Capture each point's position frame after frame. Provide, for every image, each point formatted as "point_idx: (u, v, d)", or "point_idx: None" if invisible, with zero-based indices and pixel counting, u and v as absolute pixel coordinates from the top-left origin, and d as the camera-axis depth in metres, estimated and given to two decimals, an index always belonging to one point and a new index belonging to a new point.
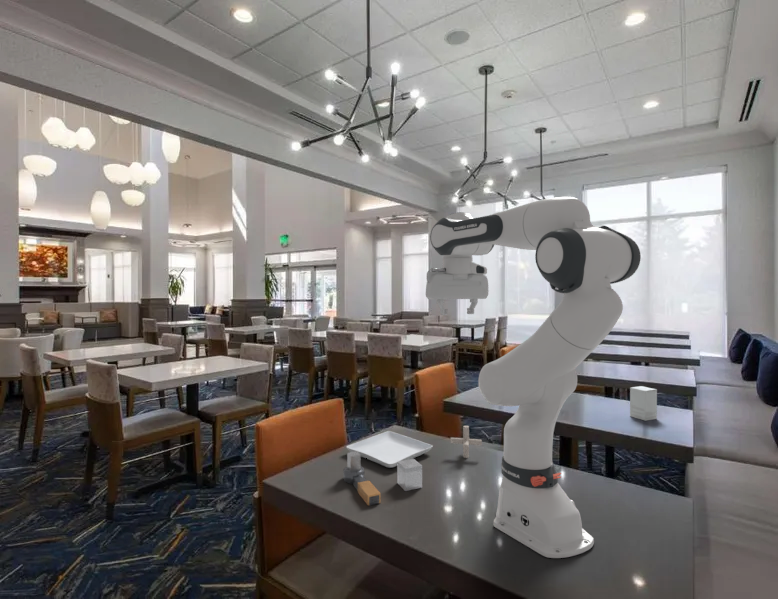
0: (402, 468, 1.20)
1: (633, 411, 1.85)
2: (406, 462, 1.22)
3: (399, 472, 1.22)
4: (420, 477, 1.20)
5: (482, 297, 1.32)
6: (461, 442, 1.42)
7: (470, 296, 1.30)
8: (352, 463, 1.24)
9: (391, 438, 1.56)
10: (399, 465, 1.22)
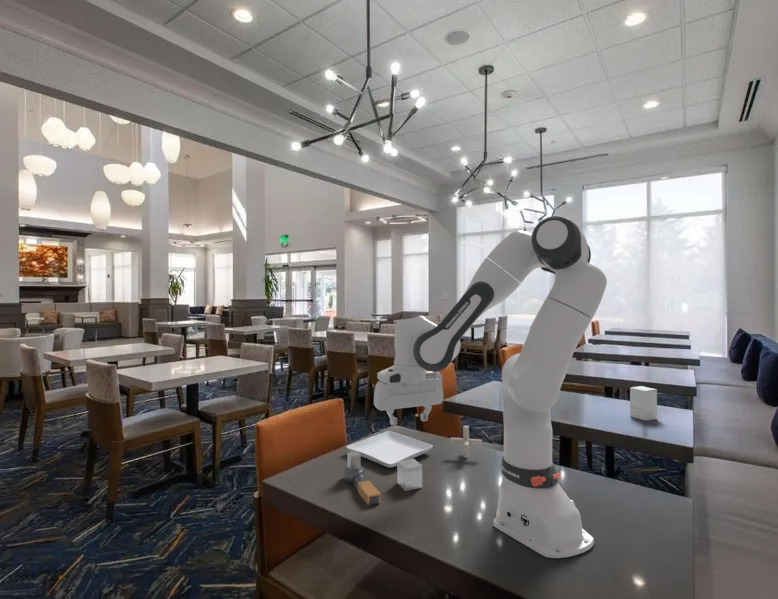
0: (402, 468, 1.20)
1: (633, 411, 1.85)
2: (406, 462, 1.22)
3: (399, 472, 1.22)
4: (420, 477, 1.20)
5: None
6: (461, 442, 1.42)
7: None
8: (352, 463, 1.24)
9: (391, 438, 1.56)
10: (399, 465, 1.22)
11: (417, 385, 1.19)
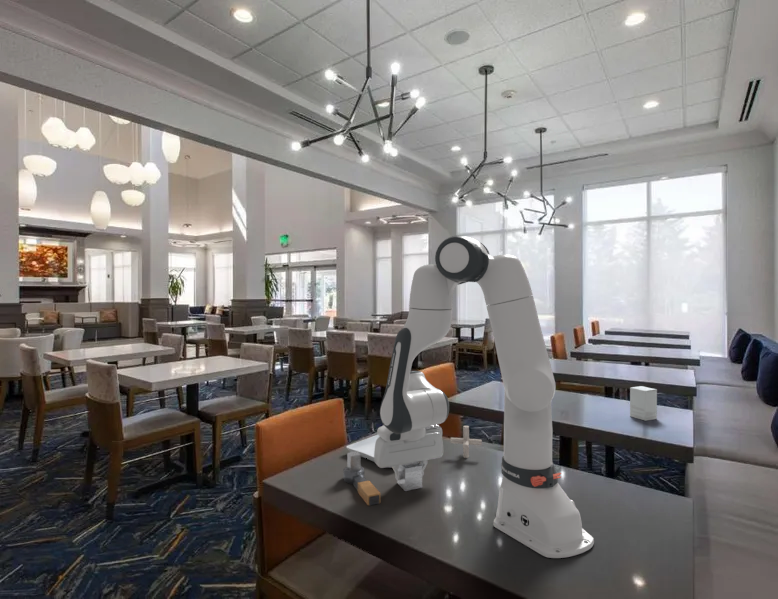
0: (402, 468, 1.20)
1: (633, 411, 1.85)
2: None
3: None
4: (420, 477, 1.20)
5: None
6: (461, 442, 1.42)
7: None
8: (352, 463, 1.24)
9: None
10: (399, 465, 1.22)
11: (417, 441, 1.19)
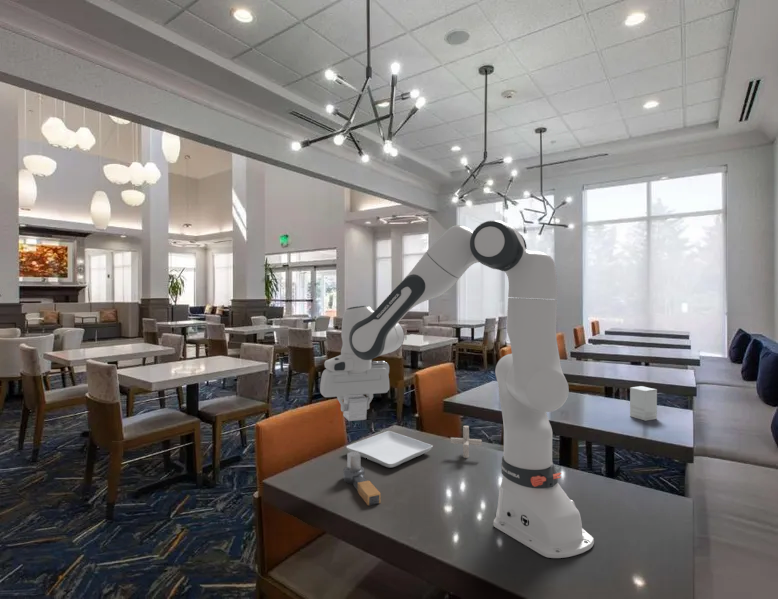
0: (347, 399, 1.24)
1: (633, 411, 1.85)
2: (352, 395, 1.26)
3: None
4: (364, 409, 1.24)
5: None
6: (461, 442, 1.42)
7: None
8: (352, 463, 1.24)
9: (391, 438, 1.56)
10: (345, 397, 1.25)
11: (362, 373, 1.23)
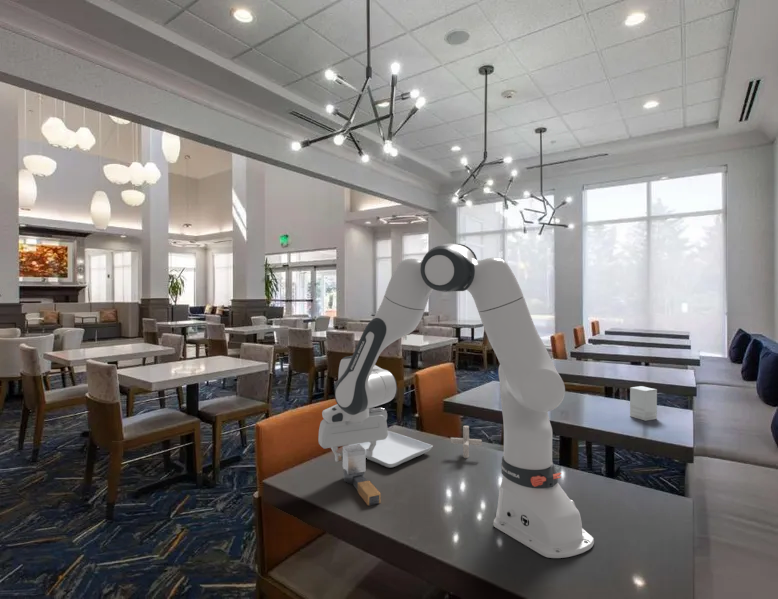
0: (346, 452, 1.24)
1: (633, 411, 1.85)
2: (351, 447, 1.26)
3: (344, 456, 1.26)
4: (363, 461, 1.24)
5: None
6: (461, 442, 1.42)
7: None
8: None
9: (391, 438, 1.56)
10: (344, 450, 1.26)
11: (360, 423, 1.23)
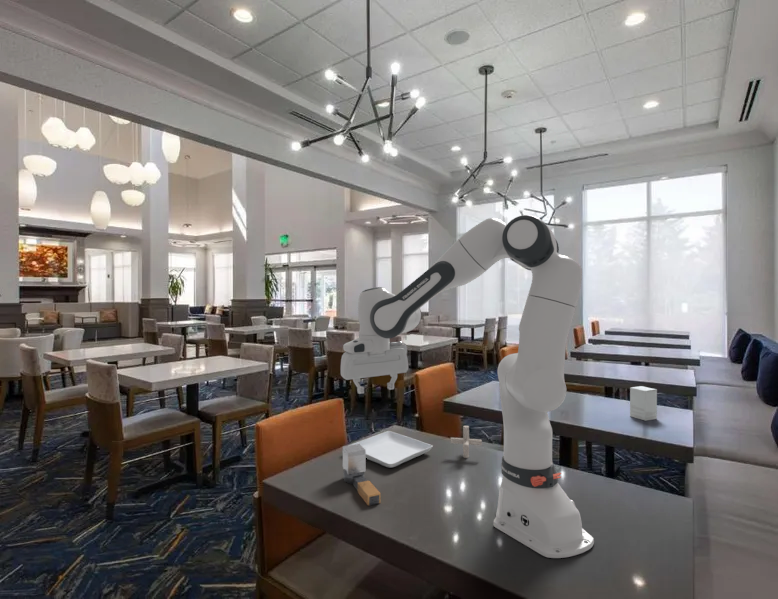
0: (346, 452, 1.24)
1: (633, 411, 1.85)
2: (351, 447, 1.26)
3: (344, 456, 1.26)
4: (363, 461, 1.24)
5: None
6: (461, 442, 1.42)
7: None
8: None
9: (391, 438, 1.56)
10: (344, 450, 1.26)
11: (381, 354, 1.24)
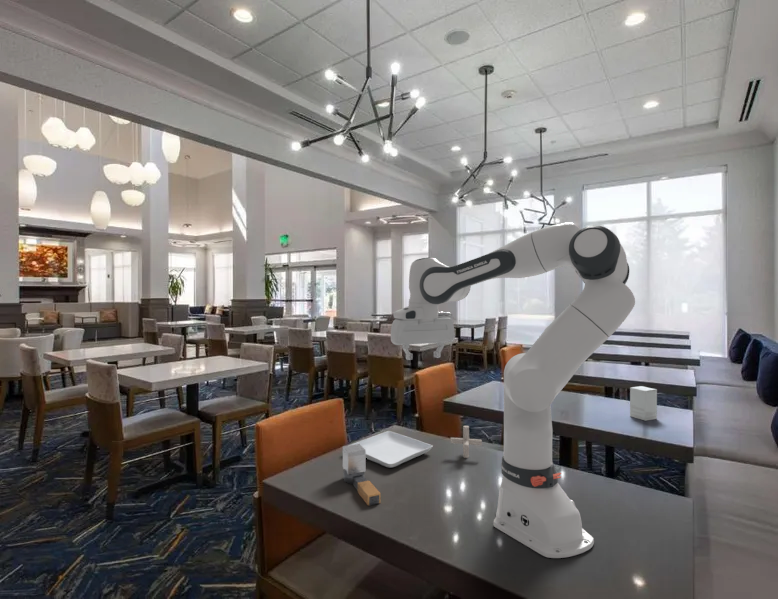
0: (346, 452, 1.24)
1: (633, 411, 1.85)
2: (351, 447, 1.26)
3: (344, 456, 1.26)
4: (363, 461, 1.24)
5: None
6: (461, 442, 1.42)
7: None
8: None
9: (391, 438, 1.56)
10: (344, 450, 1.26)
11: (431, 322, 1.28)
